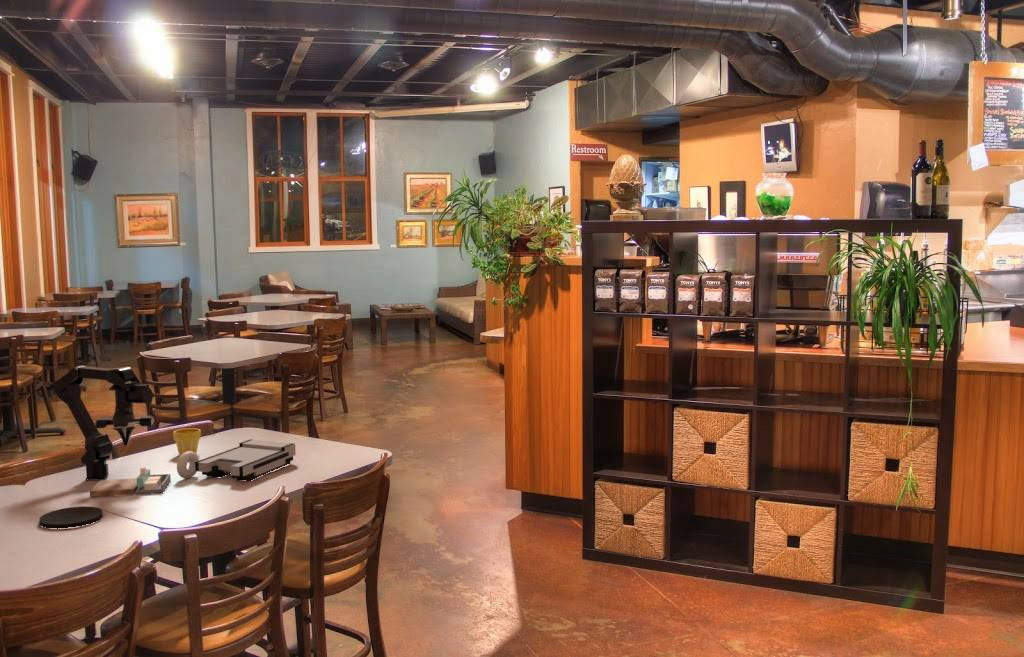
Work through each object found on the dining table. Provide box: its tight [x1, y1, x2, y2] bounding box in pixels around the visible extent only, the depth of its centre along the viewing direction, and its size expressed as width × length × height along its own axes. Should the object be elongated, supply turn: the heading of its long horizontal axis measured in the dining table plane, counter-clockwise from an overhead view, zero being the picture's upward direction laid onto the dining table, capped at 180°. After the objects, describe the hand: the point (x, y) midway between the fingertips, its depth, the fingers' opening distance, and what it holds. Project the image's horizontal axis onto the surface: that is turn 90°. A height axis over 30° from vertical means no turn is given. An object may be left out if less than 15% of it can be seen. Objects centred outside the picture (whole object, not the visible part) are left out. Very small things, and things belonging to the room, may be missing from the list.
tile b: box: [147, 476, 162, 486], centre depth 317 cm, size 4×4×2 cm
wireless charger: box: [38, 505, 104, 529], centre depth 280 cm, size 18×18×2 cm
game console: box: [195, 438, 297, 482], centre depth 336 cm, size 21×32×8 cm, turn 159°
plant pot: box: [172, 427, 202, 457], centre depth 362 cm, size 10×10×10 cm
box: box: [134, 473, 172, 495], centre depth 315 cm, size 9×14×3 cm, turn 11°
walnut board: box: [89, 477, 139, 498], centre depth 313 cm, size 14×14×2 cm
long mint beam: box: [137, 467, 151, 487], centre depth 314 cm, size 2×12×5 cm, turn 11°
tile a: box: [144, 480, 159, 489], centre depth 312 cm, size 4×4×2 cm
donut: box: [176, 451, 200, 480], centre depth 327 cm, size 10×4×10 cm, turn 159°
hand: (126, 445), depth 323 cm, fingers closed
